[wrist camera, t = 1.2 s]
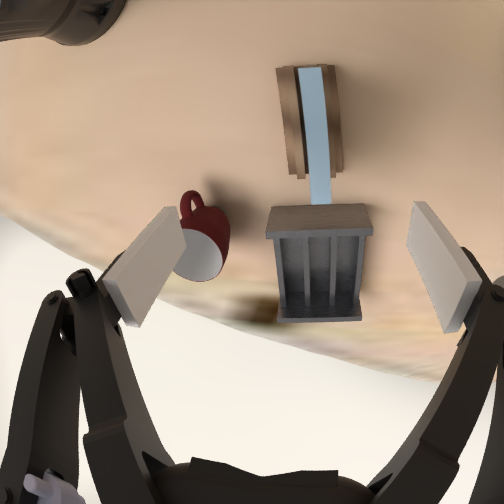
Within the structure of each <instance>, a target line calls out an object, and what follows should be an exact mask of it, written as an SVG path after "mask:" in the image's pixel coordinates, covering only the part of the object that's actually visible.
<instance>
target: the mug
mask: <svg viewBox="0 0 504 504" xmlns="http://www.w3.org/2000/svg"><path fill="white" fill-rule="evenodd" d="M192 200H193V202H194V203H195V205H196V209H195V210H194V211H192V209H191V201H192ZM180 211H181V215H182V219H181V220H180V224H181V228H182V232H183V235H184V239H185V243H186V246H187V247H186V249H185V250H184V252H183V254H182V255H181V257H180V258H179V260H178V262H177V263H176V265H175V267H174V268H173V271H174V272H175V273H176V274H178V275H179V276H181V277H183V278H185V279H188V280H191V281H196V282H203V281H208V280H211V279H213V278H215V277H216V276H217V275H218V274H219V273H220V271H221V270H222V267H223V265H224V263H225V261H226V258H227V255H228V250H229V241H230V224H229V221H228V219H227V217H226V215H225V214H224V213H223V211H221V210H220V209H218V208H216V207H209V206H204V203H203V200H202V198H201V196H200V194H199V193H198V192H197V191H194V190H191V191H187V192H185V193H184V194H183V196H182V198H181V202H180Z"/></svg>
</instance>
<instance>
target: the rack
mask: <svg viewBox="0 0 504 504" xmlns="http://www.w3.org/2000/svg"><path fill="white" fill-rule="evenodd" d="M368 235H373V226H372V224H371V221H370V219H369V217H368V214H367V212H366V210H365V207H364V205H363V204H330V205H304V206H283V207H271V211H270V216H269V220H268V224H267V228H266V238H267V239H273V241H274V249H275V258H276V266H277V275H278V283H279V292H280V300H279V307H278V315H277V322H278V323H304V322H344V321H361V320H362V312H361V306H360V300H359V293H360V285H361V276H362V267H363V257H364V245H365V236H368Z"/></svg>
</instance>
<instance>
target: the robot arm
mask: <svg viewBox="0 0 504 504" xmlns="http://www.w3.org/2000/svg"><path fill="white" fill-rule="evenodd" d="M125 2H126V0H0V42H1V41H7V40H14V39H21V38H30V37H45V38H48V39H51V40H53V41H56V42H57V43H59V44H61V45H65V46H79V45H84V44H88V43H90V42H92V41H94V40H95V39H97V38H98V37H100V36H101V35H102V34H103V33H105V32H106V31H107V30H108V29H109V28H110V26H111V25H112V24H113V23H114V22H115V20H116V19H117V17H118V16H119V14H120V12H121V11H122V9H123V7H124V4H125ZM406 246H407V248H408V250H409V252H410V254H411V256H412V258H413V260H414V262H415V264H416V266H417V269H418V271H419V273H420V275H421V277H422V280H423V282H424V284H425V286H426V289H427V291H428V293H429V296H430V298H431V301H432V303H433V306H434V308H435V311H436V313H437V316H438V318H439V321H440V324H441V327H442V329H443V332H444V333H451V332H458V331H459V329H460V327H461V325H462V323H463V321H464V324H465V326H466V330H465V332H464V334H463V336H462V337H461V339H460V341H459V342H458V344H457V346H458V348H457V350H456V352H455V355H454V357H453V359H452V361H451V363H450V365H449V367H448V369H447V371H446V373H445V375H444V377H443V379H442V381H441V383H440V385H439V387H438V389H437V391H436V392H435V394H434V396H433V398H432V400H431V401H430V403H429V405H428V406H427V408H426V410H425V411H424V413H423V415H422V416H421V418H420V419H419V421H418V423H417V424H416V426H415V427H414V429H413V430H412V432H411V433H410V435H409V436H408V437H407V439H406V440H405V442H404V443H403V444H402V446H401V447H400V448H399V450H398V451H397V452H396V454H395V455H394V456H393V458H392V459H391V460H390V462H389V463H388V464H387V465H386V466H385V467H384V468H383V469H382V470H381V471H380V472H379V473H378V474H377V475H376V477H374V478H373V480H372V481H371V482H370V483H369V484H368V485H367V486H366V487H365V486H364V485H362V484H361V483H359V482H357V481H354V480H352V479H349V478H346V477H342V476H338V470H329V471H328V470H327V471H303V470H302V471H296V472H291V473H285V474H278V475H272V476H265V477H264V476H258V475H255V474H252V473H249V472H246V471H243V470H241V469H238V468H236V467H233V466H231V465H228V464H226V463H220V462H215V461H210V460H204V459H200V458H195V457H192V458H191V462H190V463H180V464H176V465H175V463H174V461H173V460H172V458H171V457H170V456H169V454H168V453H167V452H166V451H165V449H164V447H163V445H162V443H161V441H160V439H159V437H158V434H157V432H156V430H155V427H154V425H153V422H152V420H151V417H150V415H149V413H148V410H147V408H146V405H145V402H144V400H143V397H142V394H141V391H140V388H139V386H138V383H137V380H136V377H135V374H134V371H133V368H132V365H131V362H130V358H129V355H128V352H127V348H126V345H125V341H124V338H123V334H122V330H121V327H120V325H119V324H118V321H119V320H120V318H121V317H122V319H123V320H124V322H125V324H126V326H132V327H140V326H141V324H142V322H143V321H144V319H145V317H146V315H147V313H148V311H149V310H150V308H151V306H152V304H153V303H154V301H155V299H156V297H157V296H158V294H159V292H160V291H161V289H162V287H163V285H164V284H165V282H166V280H167V279H168V277H169V275H170V273H171V272H172V270H173V268H174V267H175V265H176V263H177V262H178V260H179V258H180V257H181V255H182V254H183V252H184V250H185V249H186V247H187V246H186V243H185V239H184V235H183V232H182V228H181V224H180V220H179V216H178V212H177V208H176V206H172V207H164V208H163V209H162V210H161V211H160V212H159V213H158V214H157V216H156V217H155V218H154V219H153V220H152V221H151V222H150V223H149V224H148V225H147V227H146V228H145V229H144V230H143V231H142V232H141V233H140V234H139V236H138V237H137V238H136V239H135V240H134V241H133V243H132V244H131V245H130V246H129V247H128V248H127V250H125V251H124V252H122V253H121V254H119V255H118V256H117V257H116V258H115V259H114V261H113V262H112V263H111V264H110V265H109V267H108V269H106V270H105V272H104V273H103V274H102V275H101V276H100V278H99V279H98V280H97V281H96V282H95V280H94V278H93V276H92V274H91V272H90V270H89V269H87V268H86V269H80V270H78V271H76V272H74V273H73V274H71V275H70V276H69V278H68V279H67V280H66V285H67V287H68V289H69V290H70V292H71V294H72V296H73V297H69V298H65V296H64V294H63V293H62V291H60V290H56V291H53V292H51V293H50V294H48V295H47V296H46V297H45V299H44V300H43V302H42V304H41V307H40V309H39V312H38V315H37V317H36V320H35V323H34V326H33V329H32V332H31V335H30V338H29V341H28V344H27V348H26V351H25V355H24V358H23V362H22V366H21V370H20V374H19V378H18V382H17V387H16V391H15V396H14V401H13V407H12V413H11V419H10V426H9V435H8V444H7V449H6V451H5V455H4V458H3V461H2V464H1V468H0V504H86V503H85V500H84V498H83V497H82V496H80V495H79V494H78V492H77V488H78V478H79V452H78V427H79V403H80V389H81V391H82V397H83V402H84V408H85V413H86V418H87V422H88V426H89V432H88V433H87V434H84V436H83V445H84V449H85V453H86V457H87V460H88V464H89V468H90V471H91V474H92V478H93V481H94V483H95V486H96V490H97V492H98V495H99V498H100V501H101V503H102V504H438V503H439V502H440V500H441V499H442V497H443V496H444V494H445V493H446V491H447V490H448V488H449V487H450V485H451V483H452V482H453V480H454V478H455V477H456V475H457V473H458V471H459V466H460V465H459V463H458V459H459V457H460V454H461V453H462V451H463V448H464V447H465V445H466V443H467V441H468V439H469V437H470V435H471V433H472V431H473V428H474V426H475V424H476V422H477V419H478V417H479V415H480V412H481V410H482V407H483V405H484V402H485V400H486V397H487V394H488V391H489V389H490V386H491V383H492V380H493V377H494V374H495V371H496V367H497V380H496V391H495V399H494V407H493V414H492V420H491V425H490V430H489V436H488V440H487V445H486V449H485V453H484V456H483V460H482V464H481V467H480V471H479V474H478V477H477V480H476V483H475V486H474V489H473V492H472V495H471V498H470V501H469V504H504V288H502V287H501V286H498V285H493V284H492V283H491V281H490V280H489V278H488V276H487V275H486V273H485V272H484V270H483V269H482V267H480V264H479V263H478V261H477V260H476V258H475V257H474V255H473V254H472V253H471V252H470V251H469V250H467V249H466V248H465V247H460V246H459V244H458V243H457V242H456V240H455V239H454V237H453V236H452V235H451V233H450V232H449V231H448V229H447V228H446V227H445V225H444V224H443V223H442V222H441V220H440V219H439V218H438V216H437V215H436V214H435V213H434V211H433V210H432V209H431V208H430V207H429V205H428V204H427V203H426V202H420V201H413V207H412V214H411V220H410V226H409V232H408V237H407V243H406ZM60 333H61V334H62V339H61V337H60ZM497 364H498V365H497Z"/></svg>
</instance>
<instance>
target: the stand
mask: <svg viewBox="0 0 504 504" xmlns="http://www.w3.org/2000/svg"><path fill="white" fill-rule="evenodd" d="M311 67H321V72H322V80H323V88H324V97H325V107H326V118H327V129H328V143H329V159H330V178H336V172H343V167H342V144H341V128H340V114H339V103H338V93H337V83H336V75H335V67H334V65H327V64H318V65H317V66H298V67H293V66H284V68H276V74H277V81H278V88H279V95H280V102H281V110H282V117H283V125H284V133H285V142H286V150H287V159H288V168H289V175H290V174H297V179H305V174H309V166H308V154H307V143H306V132H305V123H304V114H303V105H302V97H301V89H300V81H299V74H298V68H311Z"/></svg>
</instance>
